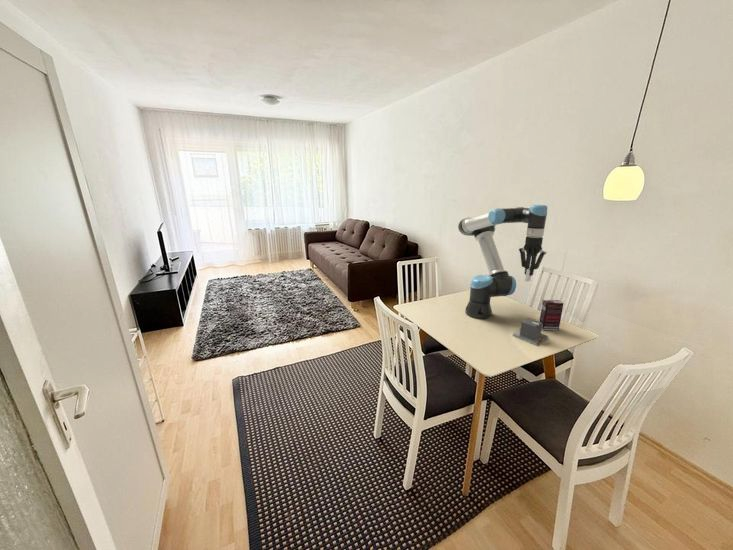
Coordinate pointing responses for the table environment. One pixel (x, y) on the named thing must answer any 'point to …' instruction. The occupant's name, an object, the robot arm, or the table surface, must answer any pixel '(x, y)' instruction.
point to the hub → (532, 341)
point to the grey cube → (531, 328)
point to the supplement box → (551, 314)
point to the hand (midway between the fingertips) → (527, 280)
